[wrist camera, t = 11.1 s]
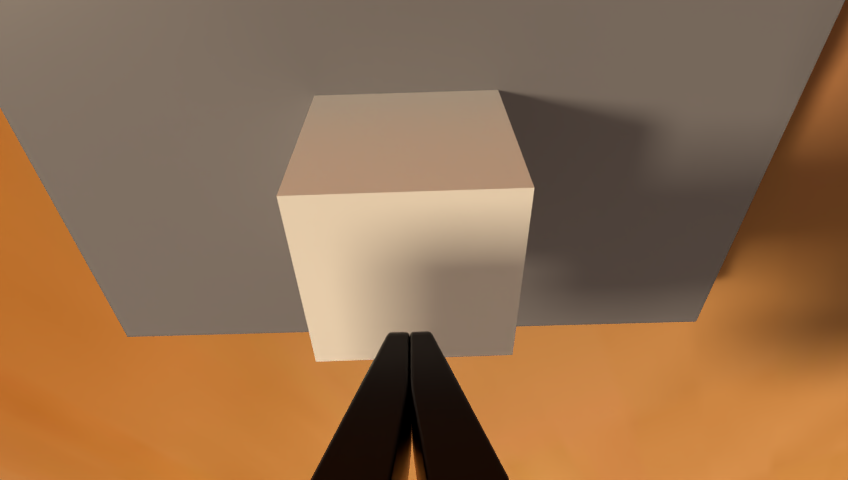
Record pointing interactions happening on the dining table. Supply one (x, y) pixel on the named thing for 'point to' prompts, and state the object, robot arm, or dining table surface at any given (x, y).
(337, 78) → the socket plate
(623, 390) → the dining table surface
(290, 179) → the cream block
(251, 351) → the dining table surface
